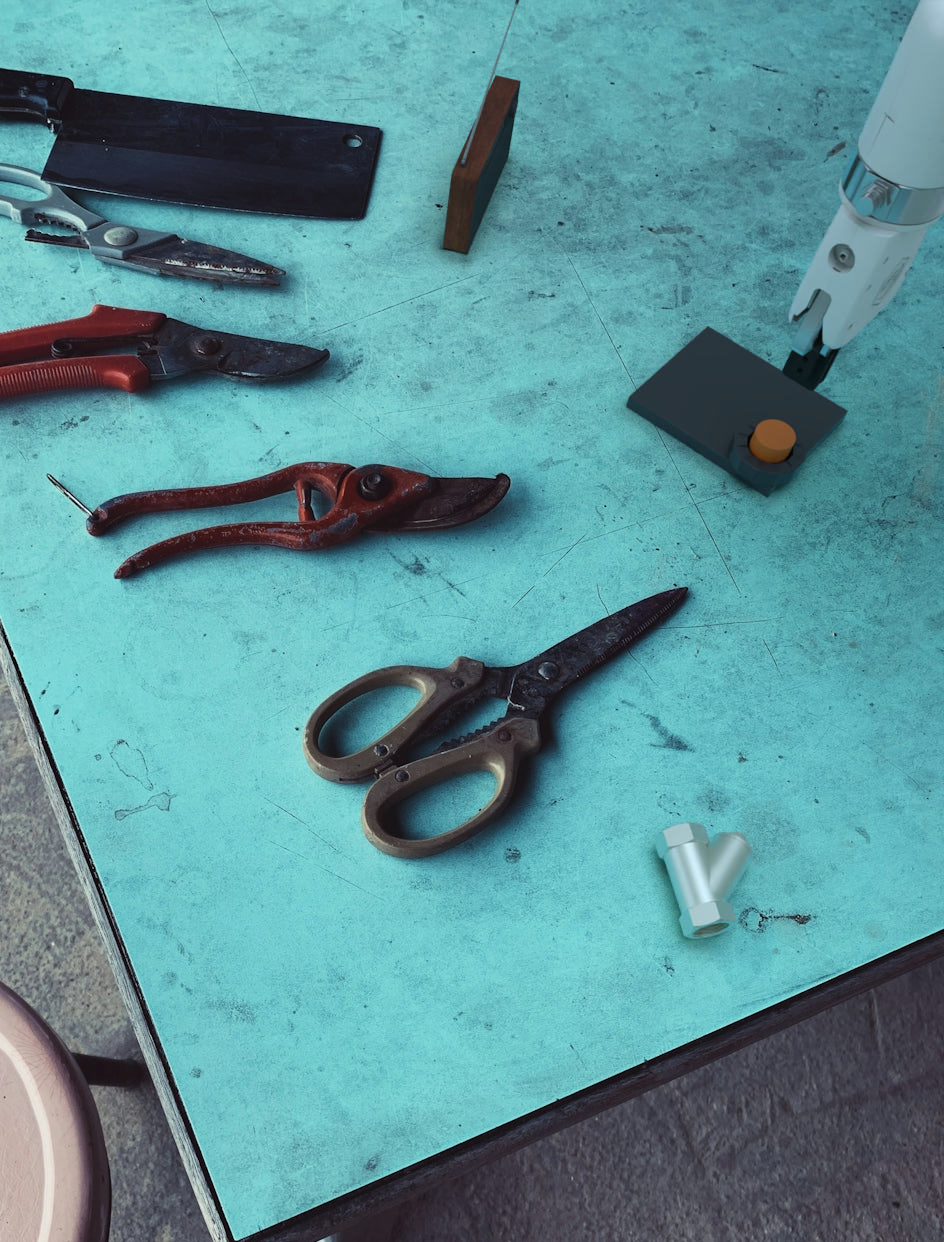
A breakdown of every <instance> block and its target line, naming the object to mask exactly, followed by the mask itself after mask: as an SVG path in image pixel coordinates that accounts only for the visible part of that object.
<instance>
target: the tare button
mask: <svg viewBox="0 0 944 1242" xmlns="http://www.w3.org/2000/svg"><path fill="white" fill-rule="evenodd" d="M795 441H796V435H795V432H794V430H793V429H792V428H791V427H790V426H789V425H788V424H786V423H785V422H782V421H780V420H774V419H770V420H765V421H762V422H761V423H759V424H758V426H757V427H756V429H755V431H754V434H753V436H752V438H751V440H750V443H749V448H750V451H751V453H752V454H753V455H754V456H755V457H756V458H757V459H759V460H761V461H763V462H767V463H779V462H782V461H783V460H785V459H786V458H787V457H788V455H789V453H790V451H791V449H792V447H793V445H794V443H795Z"/></svg>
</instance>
